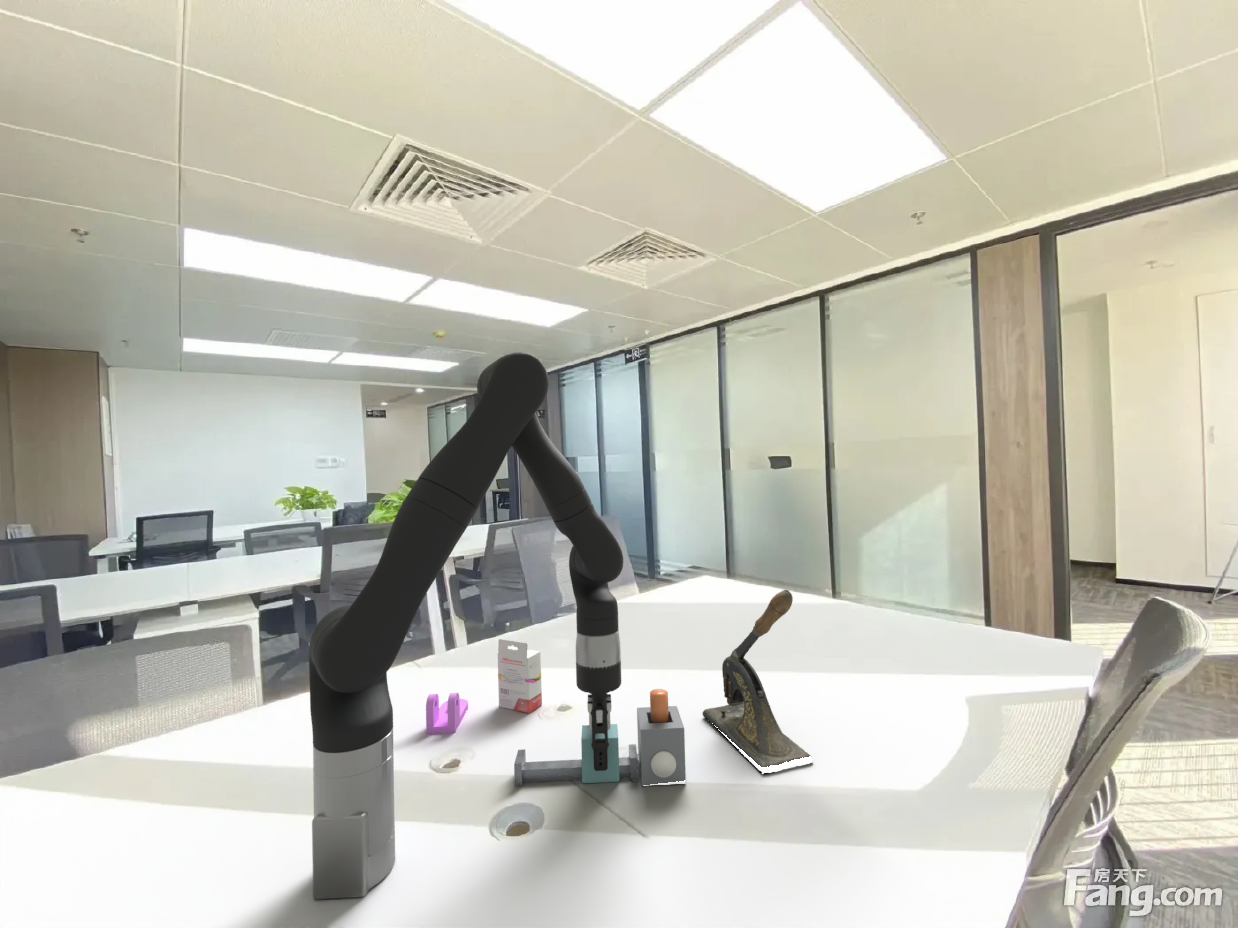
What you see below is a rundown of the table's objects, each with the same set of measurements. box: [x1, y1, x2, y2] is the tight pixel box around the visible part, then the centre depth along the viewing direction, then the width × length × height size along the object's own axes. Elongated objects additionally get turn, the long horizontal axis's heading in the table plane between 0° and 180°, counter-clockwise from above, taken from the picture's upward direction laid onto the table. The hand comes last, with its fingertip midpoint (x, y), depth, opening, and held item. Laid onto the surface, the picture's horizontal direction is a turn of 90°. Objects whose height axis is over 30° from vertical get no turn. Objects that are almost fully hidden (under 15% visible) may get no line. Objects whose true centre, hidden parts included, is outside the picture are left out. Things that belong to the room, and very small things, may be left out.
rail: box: [513, 743, 639, 787], centre depth 87 cm, size 4×20×4 cm, turn 92°
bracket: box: [425, 692, 469, 735], centre depth 110 cm, size 13×6×7 cm, turn 3°
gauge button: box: [649, 688, 669, 723], centre depth 88 cm, size 3×3×4 cm
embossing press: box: [702, 589, 811, 767], centre depth 98 cm, size 11×24×30 cm, turn 15°
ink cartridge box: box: [497, 638, 543, 714], centre depth 115 cm, size 9×5×15 cm, turn 62°
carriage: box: [580, 723, 620, 784], centre depth 88 cm, size 5×6×7 cm
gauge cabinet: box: [636, 705, 687, 786], centre depth 88 cm, size 8×7×9 cm
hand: (600, 755), depth 88 cm, fingers open, 8 cm apart
